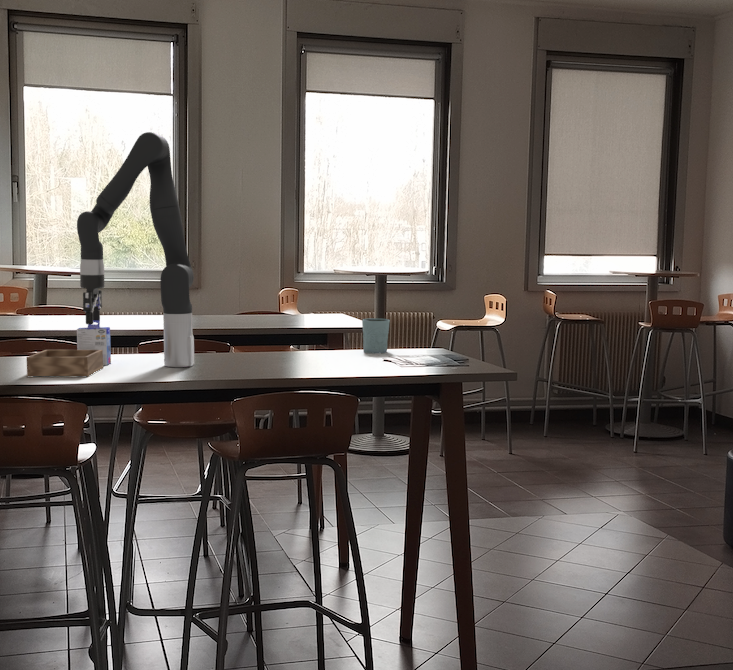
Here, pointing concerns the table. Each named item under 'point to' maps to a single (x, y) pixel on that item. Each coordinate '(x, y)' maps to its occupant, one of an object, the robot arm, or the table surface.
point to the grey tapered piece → (375, 335)
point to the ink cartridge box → (95, 340)
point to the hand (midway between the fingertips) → (93, 323)
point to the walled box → (65, 363)
